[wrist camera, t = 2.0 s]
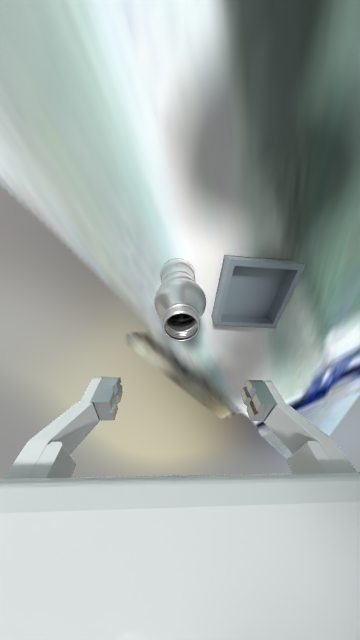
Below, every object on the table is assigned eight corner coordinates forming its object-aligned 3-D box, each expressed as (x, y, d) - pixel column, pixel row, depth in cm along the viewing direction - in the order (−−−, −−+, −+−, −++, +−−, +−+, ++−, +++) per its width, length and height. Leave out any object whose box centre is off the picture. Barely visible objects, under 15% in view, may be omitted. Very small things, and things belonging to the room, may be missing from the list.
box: (224, 255, 31) (230, 259, 28) (291, 260, 32) (305, 265, 28) (211, 316, 38) (215, 325, 35) (266, 318, 39) (275, 328, 36)
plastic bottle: (160, 255, 31) (144, 296, 14) (195, 256, 31) (220, 298, 14) (161, 286, 34) (148, 351, 17) (192, 287, 34) (210, 352, 17)
